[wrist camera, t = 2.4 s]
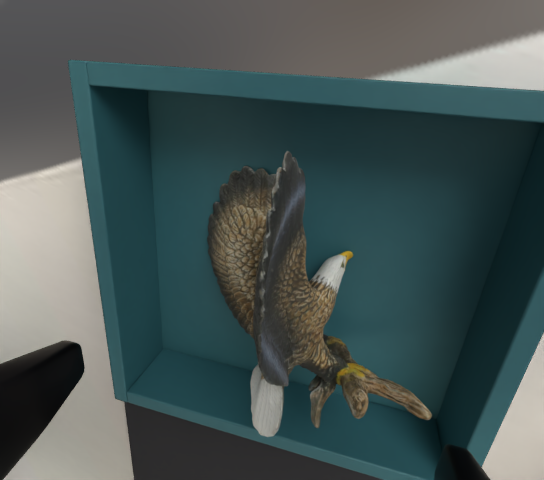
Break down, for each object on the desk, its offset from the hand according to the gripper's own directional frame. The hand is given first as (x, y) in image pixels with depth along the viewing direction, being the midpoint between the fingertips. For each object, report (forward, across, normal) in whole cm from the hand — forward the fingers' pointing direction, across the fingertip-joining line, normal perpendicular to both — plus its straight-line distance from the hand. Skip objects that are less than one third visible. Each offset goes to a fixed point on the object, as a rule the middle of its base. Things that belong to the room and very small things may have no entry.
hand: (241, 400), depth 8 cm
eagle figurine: (+8, 0, 0) cm, 8 cm away
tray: (+8, 0, 0) cm, 8 cm away
